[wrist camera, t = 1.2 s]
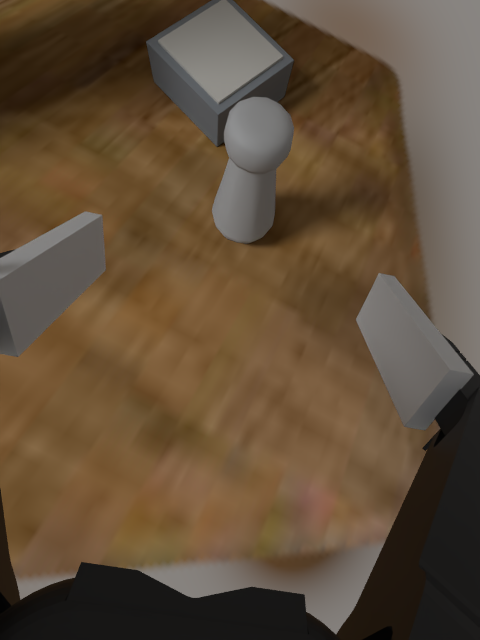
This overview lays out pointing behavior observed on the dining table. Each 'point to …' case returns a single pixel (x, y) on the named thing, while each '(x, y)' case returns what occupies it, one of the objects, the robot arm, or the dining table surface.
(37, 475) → the dining table surface
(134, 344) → the dining table surface
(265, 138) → the salt shaker
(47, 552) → the dining table surface
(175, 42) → the slate plinth
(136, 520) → the dining table surface
